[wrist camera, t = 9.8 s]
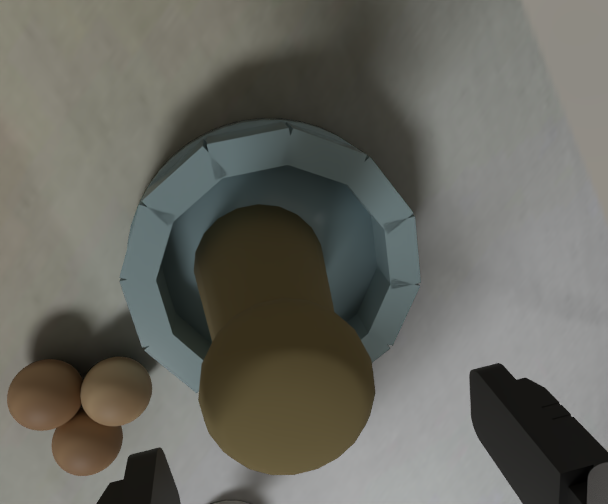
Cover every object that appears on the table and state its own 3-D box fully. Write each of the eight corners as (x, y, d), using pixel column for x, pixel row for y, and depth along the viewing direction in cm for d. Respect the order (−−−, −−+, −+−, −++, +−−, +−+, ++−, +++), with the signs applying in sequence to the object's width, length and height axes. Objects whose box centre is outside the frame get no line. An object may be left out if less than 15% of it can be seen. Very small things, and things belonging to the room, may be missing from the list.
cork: (301, 184, 23) (373, 289, 13) (339, 298, 25) (425, 463, 15) (171, 232, 23) (140, 377, 12) (222, 342, 25) (230, 539, 15)
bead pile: (2, 370, 25) (-26, 413, 22) (107, 307, 25) (93, 341, 22) (89, 453, 27) (74, 501, 24) (184, 396, 27) (181, 438, 24)
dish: (92, 149, 22) (74, 164, 19) (384, 92, 23) (409, 98, 20) (172, 394, 27) (167, 436, 24) (409, 337, 28) (432, 370, 25)
